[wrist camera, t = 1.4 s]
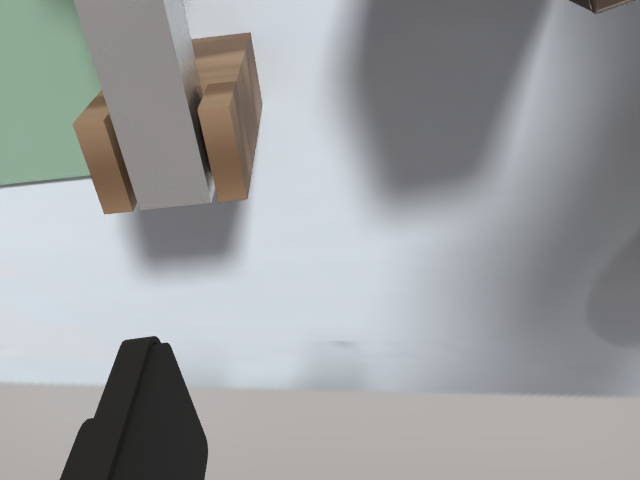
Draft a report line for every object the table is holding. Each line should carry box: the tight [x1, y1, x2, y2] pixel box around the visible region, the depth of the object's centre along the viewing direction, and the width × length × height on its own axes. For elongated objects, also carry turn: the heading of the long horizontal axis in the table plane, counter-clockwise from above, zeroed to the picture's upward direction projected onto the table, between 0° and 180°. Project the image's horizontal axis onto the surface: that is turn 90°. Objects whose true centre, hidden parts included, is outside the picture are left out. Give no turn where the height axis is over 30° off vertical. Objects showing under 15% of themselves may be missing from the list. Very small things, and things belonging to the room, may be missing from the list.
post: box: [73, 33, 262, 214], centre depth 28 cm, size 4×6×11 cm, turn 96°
